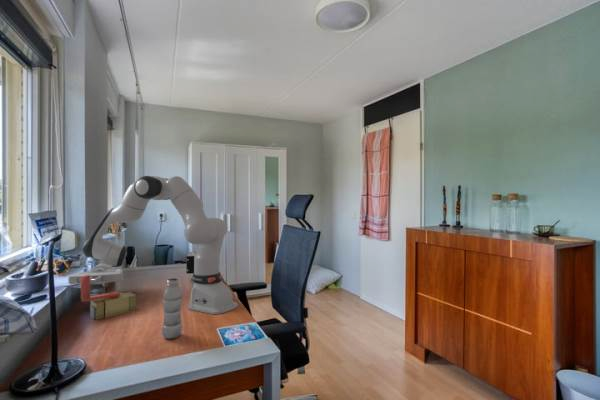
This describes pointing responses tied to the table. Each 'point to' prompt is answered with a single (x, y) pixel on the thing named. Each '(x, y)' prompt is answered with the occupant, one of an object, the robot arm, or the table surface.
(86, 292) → the lever
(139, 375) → the table surface
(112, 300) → the olive yellow box
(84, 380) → the table surface
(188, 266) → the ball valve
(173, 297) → the plastic bottle
